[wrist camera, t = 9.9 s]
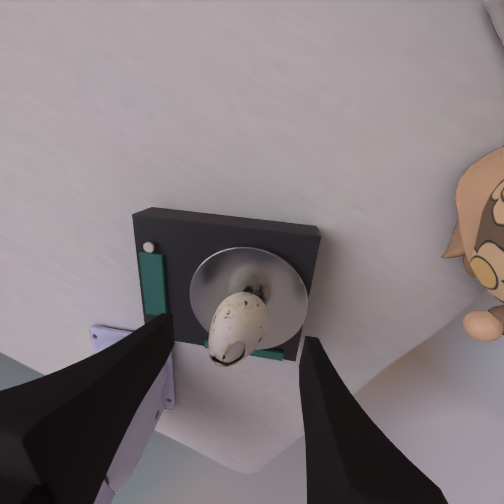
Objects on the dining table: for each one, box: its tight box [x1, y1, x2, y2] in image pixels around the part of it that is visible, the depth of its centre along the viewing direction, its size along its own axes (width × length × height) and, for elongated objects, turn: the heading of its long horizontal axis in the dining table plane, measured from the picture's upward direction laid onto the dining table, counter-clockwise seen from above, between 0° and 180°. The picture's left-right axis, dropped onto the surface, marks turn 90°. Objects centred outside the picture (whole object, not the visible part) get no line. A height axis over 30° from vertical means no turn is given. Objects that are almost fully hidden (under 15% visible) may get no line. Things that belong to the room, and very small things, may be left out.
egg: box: [209, 292, 269, 367], centre depth 13 cm, size 3×3×5 cm
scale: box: [132, 207, 321, 361], centre depth 17 cm, size 10×12×3 cm
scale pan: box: [189, 244, 308, 350], centre depth 16 cm, size 8×8×1 cm
